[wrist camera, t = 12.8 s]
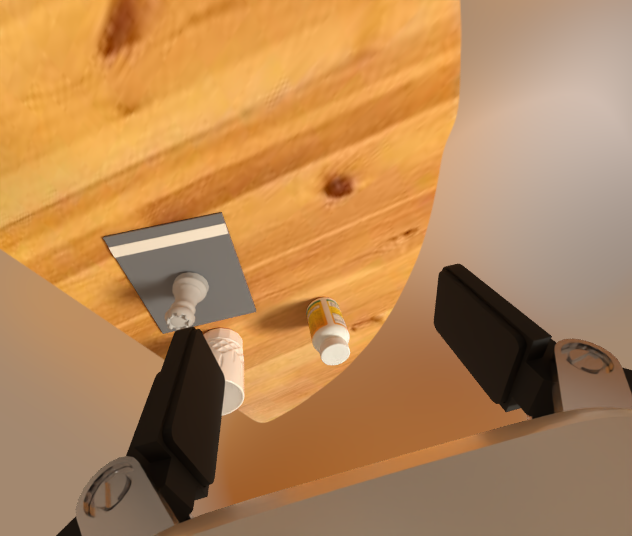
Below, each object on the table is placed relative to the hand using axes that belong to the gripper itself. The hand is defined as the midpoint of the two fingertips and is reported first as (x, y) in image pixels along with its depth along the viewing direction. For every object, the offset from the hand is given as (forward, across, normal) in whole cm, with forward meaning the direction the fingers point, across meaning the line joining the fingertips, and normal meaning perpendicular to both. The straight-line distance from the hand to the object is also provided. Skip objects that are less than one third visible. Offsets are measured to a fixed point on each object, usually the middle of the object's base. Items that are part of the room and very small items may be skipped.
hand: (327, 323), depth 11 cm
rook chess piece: (+26, +15, +12) cm, 32 cm away
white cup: (+26, +15, +24) cm, 39 cm away
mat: (+26, +15, +11) cm, 32 cm away
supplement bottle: (+26, -2, +22) cm, 34 cm away
